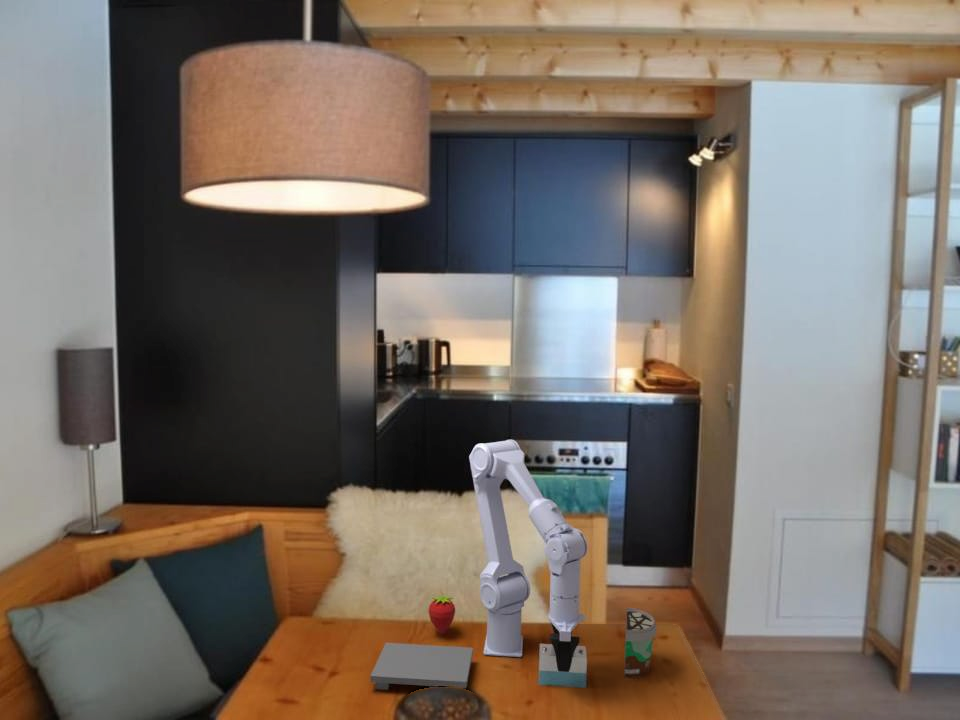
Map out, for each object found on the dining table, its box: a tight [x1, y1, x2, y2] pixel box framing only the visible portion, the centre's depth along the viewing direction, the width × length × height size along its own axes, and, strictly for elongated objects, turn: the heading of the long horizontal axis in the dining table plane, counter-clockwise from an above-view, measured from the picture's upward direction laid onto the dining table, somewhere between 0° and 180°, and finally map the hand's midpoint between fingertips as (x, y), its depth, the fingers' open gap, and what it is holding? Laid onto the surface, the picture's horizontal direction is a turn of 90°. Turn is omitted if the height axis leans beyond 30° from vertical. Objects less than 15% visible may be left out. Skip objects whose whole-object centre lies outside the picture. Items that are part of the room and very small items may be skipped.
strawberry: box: [428, 589, 456, 636], centre depth 163 cm, size 6×8×10 cm
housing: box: [538, 643, 588, 689], centre depth 144 cm, size 5×9×6 cm, turn 86°
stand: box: [369, 642, 474, 691], centre depth 145 cm, size 14×18×3 cm
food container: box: [623, 607, 658, 678], centre depth 150 cm, size 12×6×10 cm, turn 168°
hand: (562, 661), depth 144 cm, fingers open, 7 cm apart
